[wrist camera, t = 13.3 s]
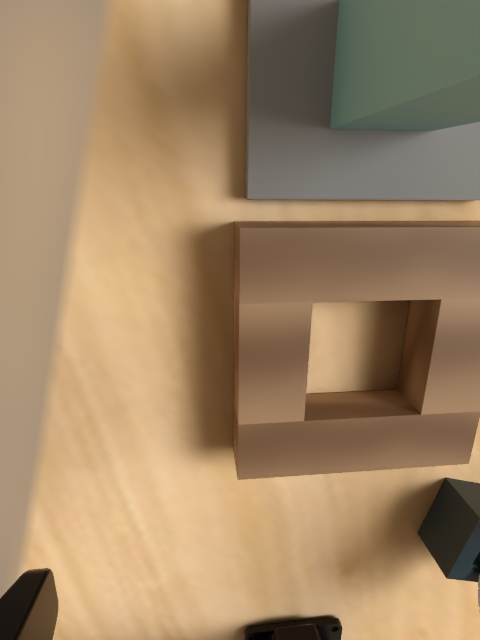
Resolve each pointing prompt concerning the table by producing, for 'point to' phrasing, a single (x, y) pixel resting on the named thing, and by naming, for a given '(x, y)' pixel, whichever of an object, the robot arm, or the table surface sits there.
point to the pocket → (345, 286)
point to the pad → (314, 123)
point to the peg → (406, 65)
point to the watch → (455, 530)
